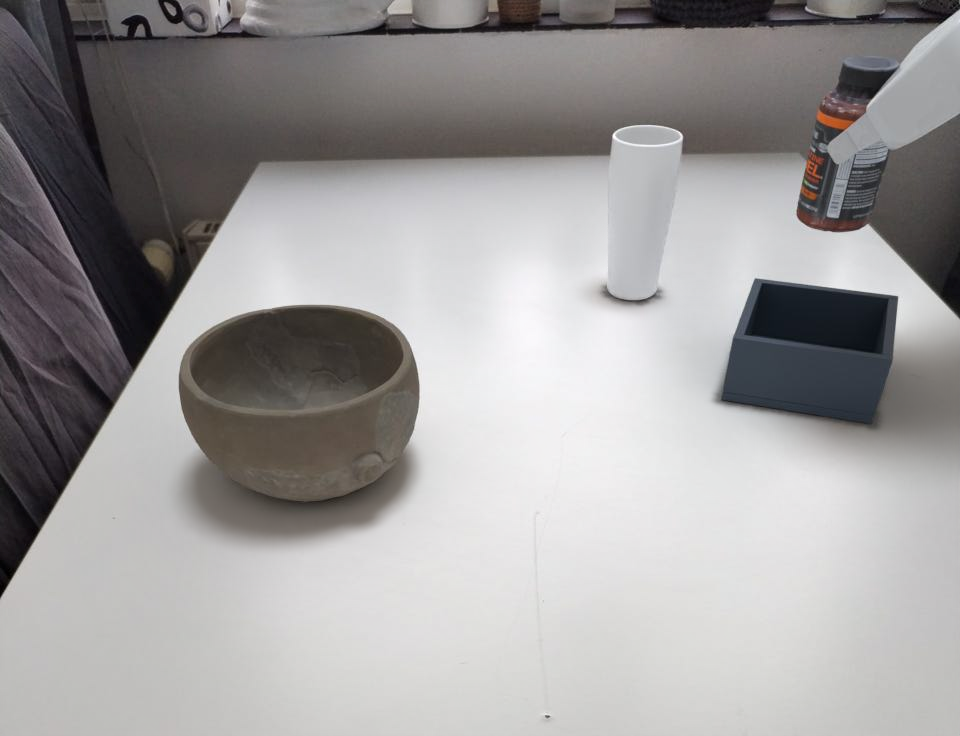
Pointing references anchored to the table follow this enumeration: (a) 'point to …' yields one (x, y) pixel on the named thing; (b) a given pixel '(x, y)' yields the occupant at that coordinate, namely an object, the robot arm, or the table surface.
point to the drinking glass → (640, 206)
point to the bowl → (301, 399)
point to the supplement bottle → (854, 184)
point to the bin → (812, 350)
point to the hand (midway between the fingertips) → (843, 141)
